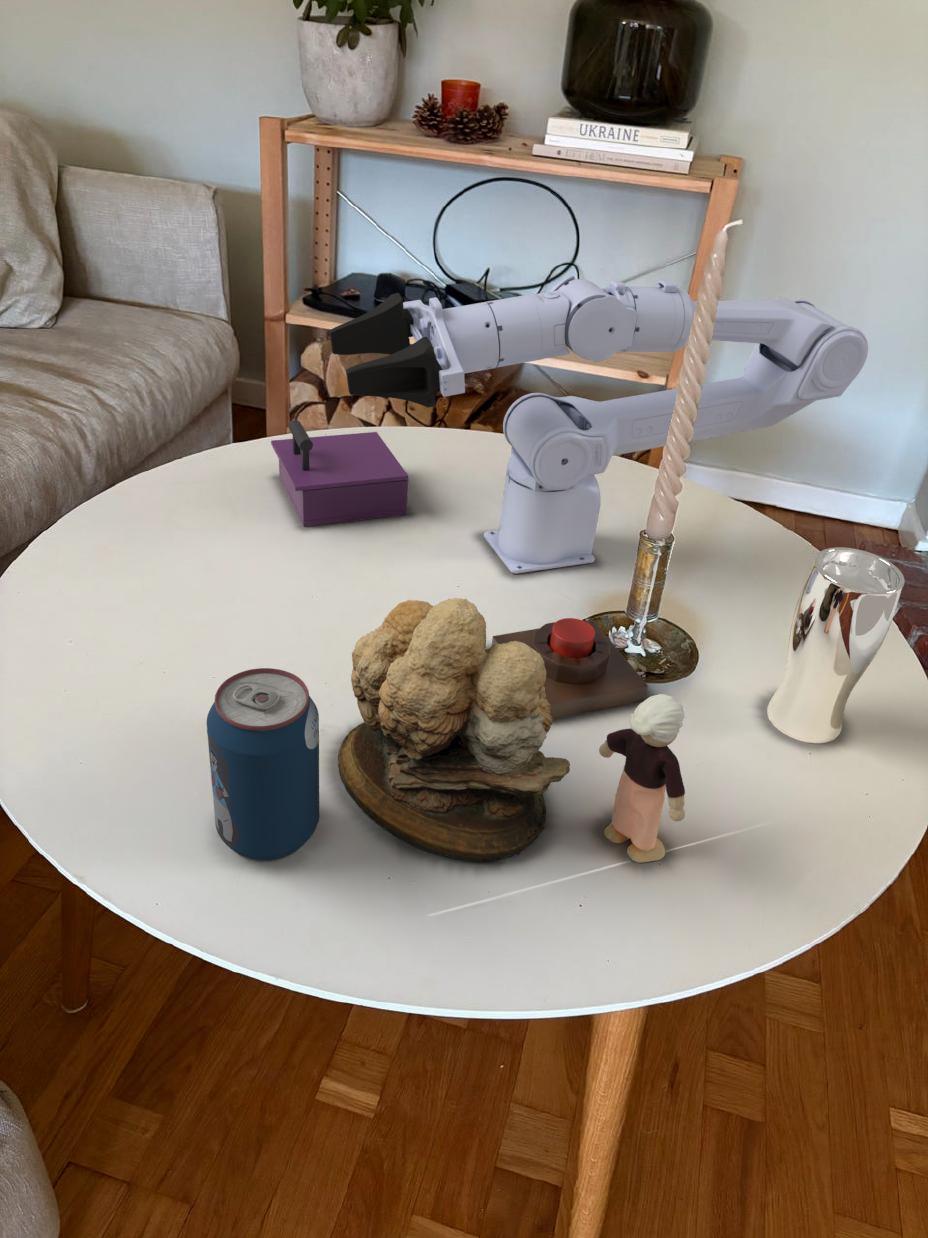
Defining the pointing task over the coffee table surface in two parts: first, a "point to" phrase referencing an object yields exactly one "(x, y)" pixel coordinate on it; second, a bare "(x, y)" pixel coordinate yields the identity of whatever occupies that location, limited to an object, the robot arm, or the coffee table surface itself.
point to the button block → (582, 674)
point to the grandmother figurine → (646, 776)
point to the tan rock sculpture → (449, 733)
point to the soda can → (264, 763)
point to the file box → (347, 501)
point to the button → (572, 638)
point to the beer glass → (833, 640)
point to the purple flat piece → (336, 459)
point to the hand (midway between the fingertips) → (339, 361)
